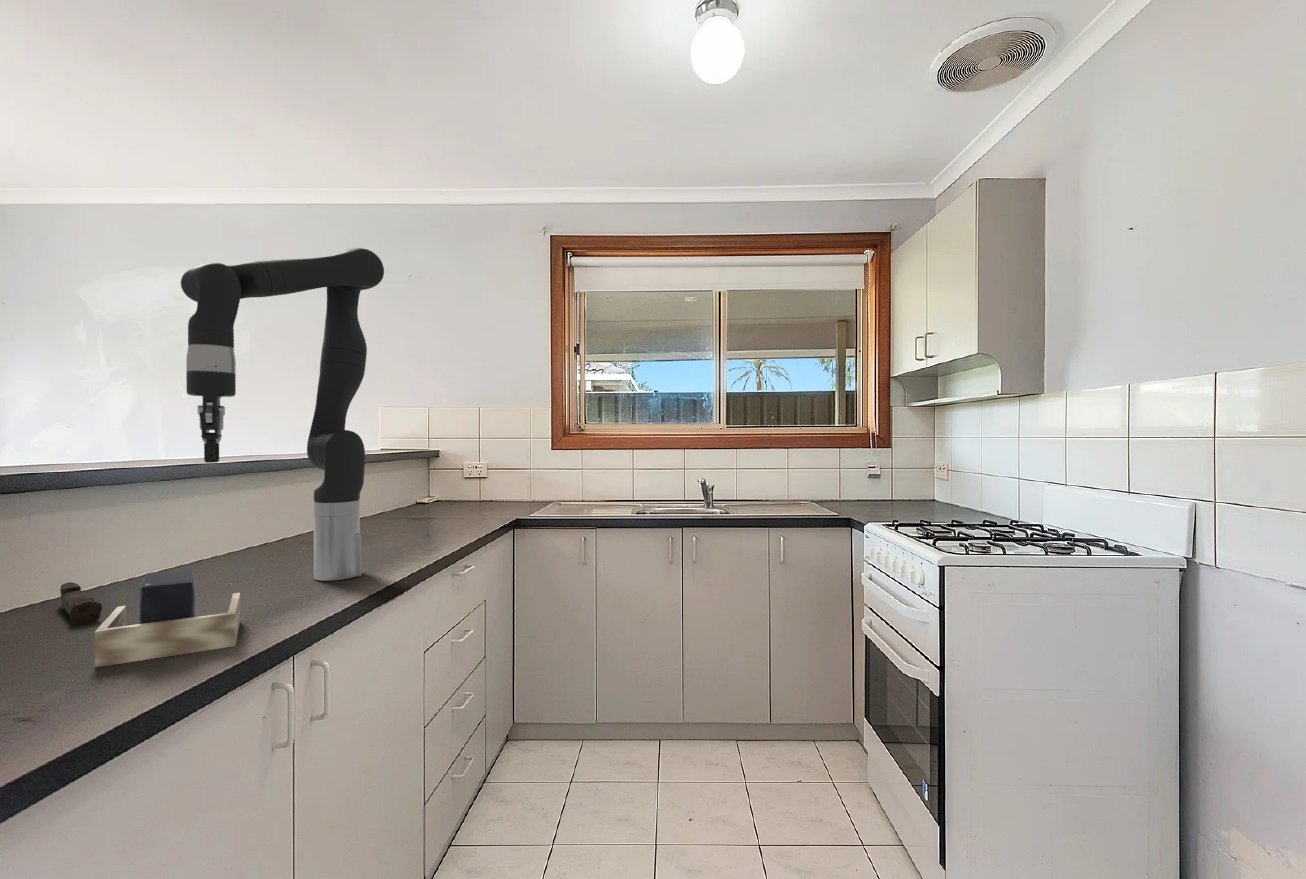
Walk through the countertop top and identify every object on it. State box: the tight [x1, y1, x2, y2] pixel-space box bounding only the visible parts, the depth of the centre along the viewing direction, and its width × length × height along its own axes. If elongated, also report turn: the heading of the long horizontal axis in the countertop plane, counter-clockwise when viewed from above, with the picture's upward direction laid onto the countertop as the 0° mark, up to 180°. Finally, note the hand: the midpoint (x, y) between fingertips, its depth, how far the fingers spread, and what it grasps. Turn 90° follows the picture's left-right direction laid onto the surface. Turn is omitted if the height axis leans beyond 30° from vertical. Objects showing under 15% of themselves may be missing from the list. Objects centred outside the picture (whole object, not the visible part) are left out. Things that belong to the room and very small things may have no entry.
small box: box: [139, 569, 196, 624], centre depth 93 cm, size 11×6×10 cm, turn 36°
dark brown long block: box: [59, 581, 103, 626], centre depth 108 cm, size 19×4×5 cm, turn 49°
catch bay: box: [94, 592, 241, 668], centre depth 93 cm, size 16×14×5 cm
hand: (211, 462), depth 114 cm, fingers closed
